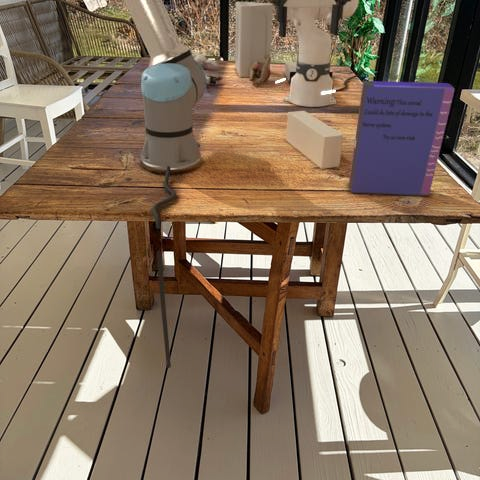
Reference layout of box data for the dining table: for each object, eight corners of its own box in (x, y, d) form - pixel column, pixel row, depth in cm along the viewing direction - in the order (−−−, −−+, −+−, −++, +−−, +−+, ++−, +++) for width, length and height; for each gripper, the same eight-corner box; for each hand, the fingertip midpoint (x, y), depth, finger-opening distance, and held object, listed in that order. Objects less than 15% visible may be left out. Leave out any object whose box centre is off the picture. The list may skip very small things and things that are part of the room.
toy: (172, 75, 209) (171, 59, 206) (148, 65, 227) (147, 49, 223) (219, 69, 221) (219, 54, 218) (193, 60, 239) (193, 45, 235)
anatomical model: (260, 88, 207) (256, 89, 193) (245, 74, 206) (240, 74, 192) (280, 65, 202) (277, 65, 188) (265, 51, 201) (261, 49, 187)
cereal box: (423, 187, 112) (447, 82, 100) (428, 195, 108) (454, 87, 96) (348, 184, 113) (363, 79, 101) (351, 192, 109) (367, 85, 96)
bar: (339, 166, 123) (343, 135, 118) (321, 168, 121) (324, 137, 117) (302, 138, 141) (304, 110, 136) (285, 140, 139) (287, 112, 135)
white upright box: (273, 76, 210) (276, 6, 196) (239, 77, 209) (240, 6, 194) (266, 67, 226) (268, 2, 212) (235, 67, 225) (235, 1, 210)
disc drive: (289, 84, 198) (290, 71, 196) (284, 72, 218) (284, 61, 215) (331, 84, 199) (332, 72, 196) (322, 72, 218) (323, 61, 215)
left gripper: (357, -68, 111) (347, 31, 122) (256, -69, 104) (254, 35, 115) (374, -69, 105) (361, 35, 116) (268, -71, 98) (265, 40, 109)
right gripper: (345, -31, 134) (339, 22, 141) (278, -32, 128) (275, 24, 136) (356, -30, 129) (350, 25, 136) (287, -31, 123) (284, 27, 130)
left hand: (308, 35), depth 115 cm, fingers open, 13 cm apart
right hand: (312, 25), depth 136 cm, fingers open, 8 cm apart
